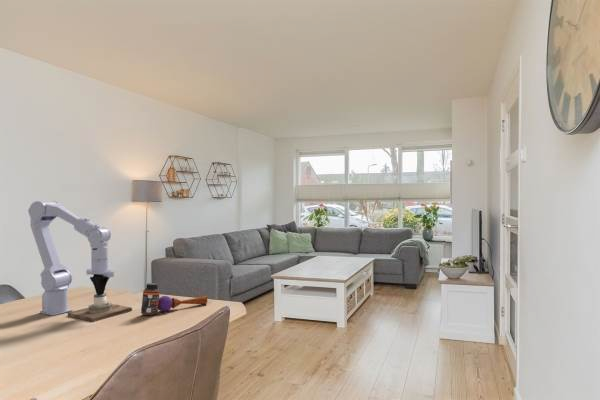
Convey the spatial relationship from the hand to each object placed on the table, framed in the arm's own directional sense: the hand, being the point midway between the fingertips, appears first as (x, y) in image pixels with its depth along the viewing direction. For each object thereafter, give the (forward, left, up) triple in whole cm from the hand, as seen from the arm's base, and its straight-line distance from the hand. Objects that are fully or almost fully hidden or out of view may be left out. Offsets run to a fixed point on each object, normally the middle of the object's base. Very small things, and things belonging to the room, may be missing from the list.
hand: (100, 294), depth 153 cm
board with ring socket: (0, 0, -7) cm, 7 cm away
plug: (0, 0, -6) cm, 6 cm away
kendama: (+23, +20, -8) cm, 31 cm away
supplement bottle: (+19, +7, -7) cm, 22 cm away
